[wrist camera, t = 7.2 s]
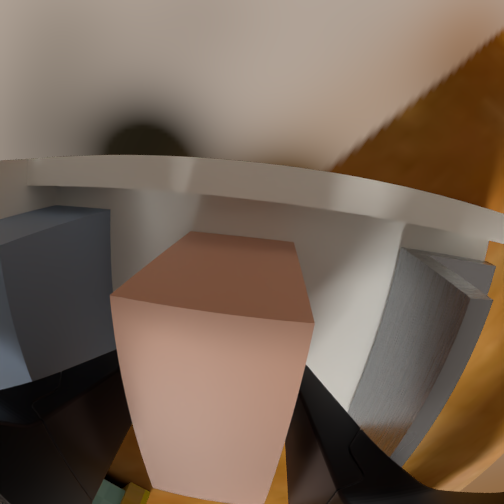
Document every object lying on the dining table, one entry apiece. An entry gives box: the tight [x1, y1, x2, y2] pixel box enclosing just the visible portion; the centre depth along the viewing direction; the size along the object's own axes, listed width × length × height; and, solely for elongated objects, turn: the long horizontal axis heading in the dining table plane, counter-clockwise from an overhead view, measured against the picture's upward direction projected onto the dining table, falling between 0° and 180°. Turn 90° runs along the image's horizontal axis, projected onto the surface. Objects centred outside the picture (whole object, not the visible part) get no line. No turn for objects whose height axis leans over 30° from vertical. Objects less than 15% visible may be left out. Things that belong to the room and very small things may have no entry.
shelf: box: [0, 155, 504, 412], centre depth 9 cm, size 11×19×6 cm, turn 84°
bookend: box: [347, 247, 496, 467], centre depth 8 cm, size 8×4×4 cm, turn 174°
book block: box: [110, 231, 315, 504], centre depth 8 cm, size 7×4×6 cm, turn 175°
